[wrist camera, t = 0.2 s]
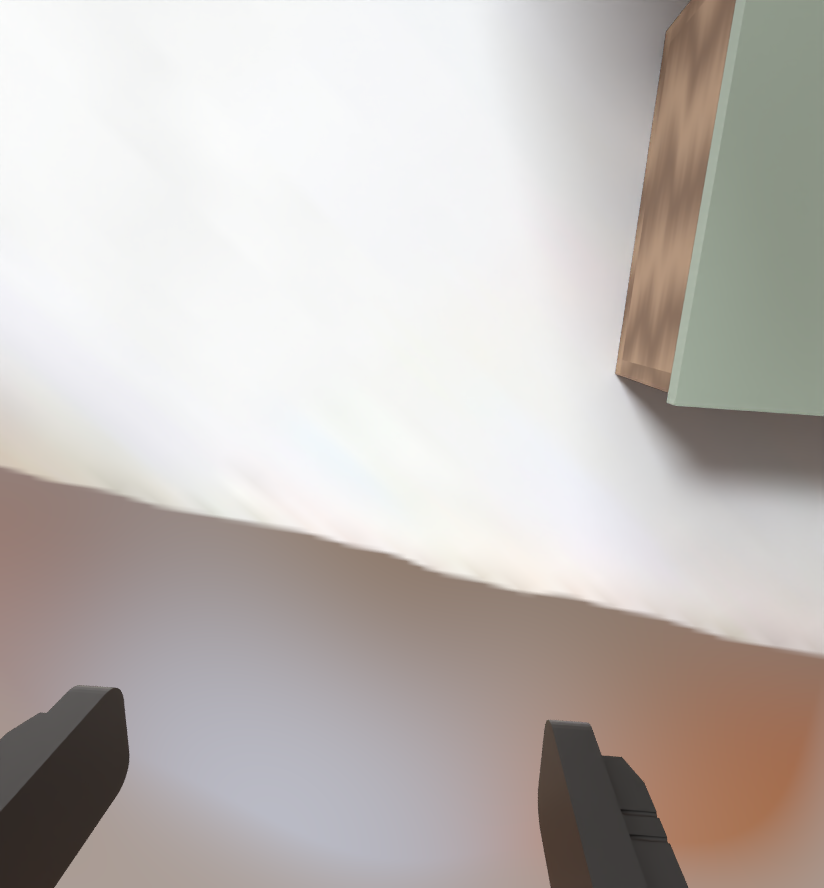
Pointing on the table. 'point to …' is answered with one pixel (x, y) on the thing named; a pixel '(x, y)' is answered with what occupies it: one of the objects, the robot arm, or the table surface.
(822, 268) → the toolbox lid
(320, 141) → the table surface
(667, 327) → the toolbox
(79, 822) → the robot arm
